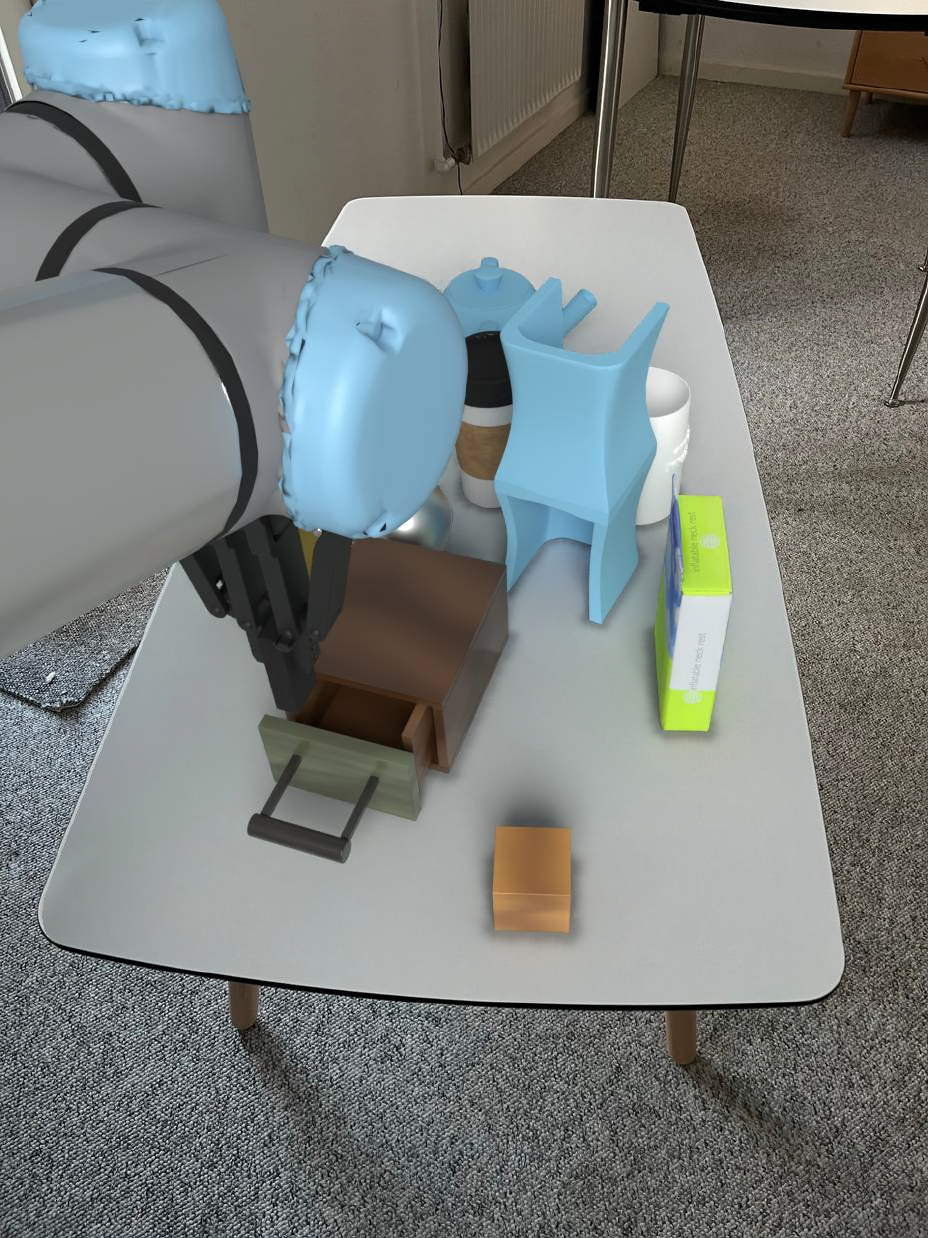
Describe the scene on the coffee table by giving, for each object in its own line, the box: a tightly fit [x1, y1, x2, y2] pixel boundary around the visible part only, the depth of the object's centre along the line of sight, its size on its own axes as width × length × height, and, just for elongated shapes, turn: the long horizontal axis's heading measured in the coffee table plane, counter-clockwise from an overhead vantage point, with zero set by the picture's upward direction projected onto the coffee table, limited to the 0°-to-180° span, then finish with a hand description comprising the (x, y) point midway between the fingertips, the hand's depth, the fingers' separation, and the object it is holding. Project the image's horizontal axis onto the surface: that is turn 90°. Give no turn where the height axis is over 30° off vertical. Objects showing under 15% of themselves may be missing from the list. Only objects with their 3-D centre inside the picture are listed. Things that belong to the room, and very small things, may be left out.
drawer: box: [246, 678, 437, 865], centre depth 78 cm, size 20×11×7 cm, turn 160°
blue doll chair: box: [494, 276, 671, 625], centre depth 86 cm, size 10×10×25 cm
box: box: [653, 473, 734, 732], centre depth 80 cm, size 10×4×17 cm, turn 176°
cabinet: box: [314, 537, 509, 775], centre depth 84 cm, size 15×13×9 cm
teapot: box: [441, 256, 598, 339], centre depth 114 cm, size 15×17×11 cm
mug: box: [636, 366, 692, 526], centre depth 99 cm, size 8×12×12 cm
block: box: [491, 825, 572, 934], centre depth 72 cm, size 5×5×5 cm
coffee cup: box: [454, 331, 513, 509], centre depth 98 cm, size 8×8×15 cm
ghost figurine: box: [355, 484, 453, 551], centre depth 94 cm, size 9×10×10 cm
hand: (297, 694), depth 66 cm, fingers closed
